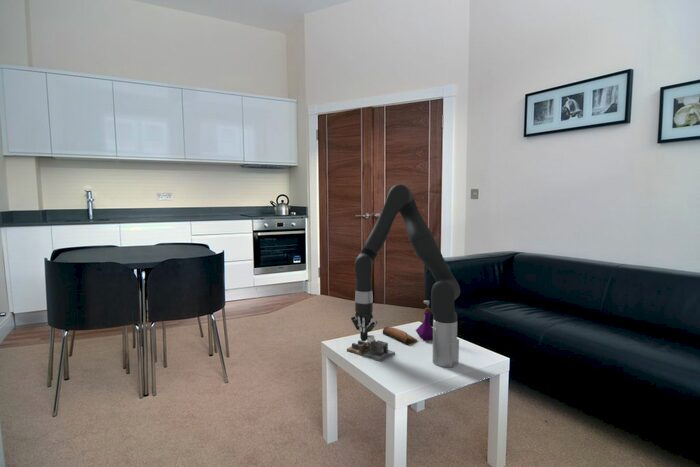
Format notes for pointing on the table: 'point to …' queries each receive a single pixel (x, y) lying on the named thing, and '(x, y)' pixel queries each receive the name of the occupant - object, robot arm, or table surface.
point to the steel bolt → (370, 340)
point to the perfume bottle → (425, 325)
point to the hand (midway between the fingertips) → (363, 340)
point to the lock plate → (372, 350)
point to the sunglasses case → (399, 335)
